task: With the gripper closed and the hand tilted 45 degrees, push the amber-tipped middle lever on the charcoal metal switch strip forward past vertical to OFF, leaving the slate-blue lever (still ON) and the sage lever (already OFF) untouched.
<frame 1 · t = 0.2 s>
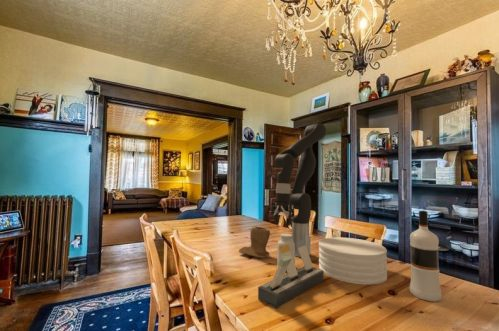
hand: (282, 224, 120), 18 cm above the table, tool pointing down, fingers open, 8 cm apart
switch strip: (293, 289, 87), on the table
lever sage: (280, 272, 79), point 9 cm above the table, hinge at 25.0°
lever slate: (304, 255, 97), point 9 cm above the table, hinge at -25.0°
pill bottle: (286, 268, 108), on the table
vodka: (425, 296, 84), on the table
lever amber: (288, 261, 90), point 9 cm above the table, hinge at -25.0°
plate stack: (351, 271, 106), on the table
brown boot: (256, 255, 126), on the table
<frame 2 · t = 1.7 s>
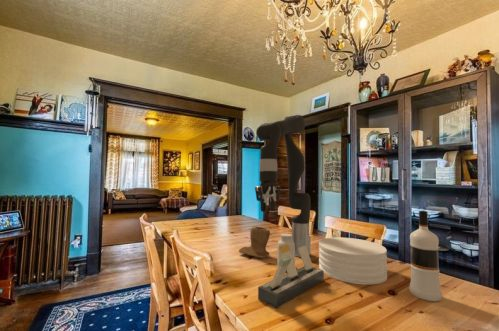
hand: (268, 210, 98), 27 cm above the table, tool pointing down, fingers open, 5 cm apart
nothing on the table moved.
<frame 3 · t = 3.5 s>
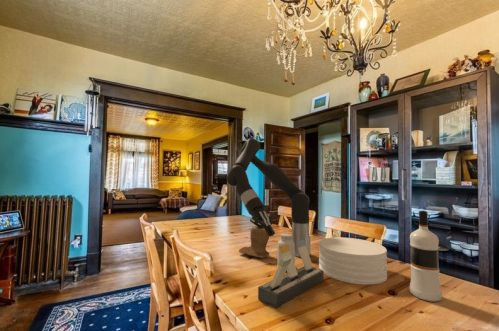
hand: (272, 235, 96), 18 cm above the table, tool tilted 45°, fingers closed
nothing on the table moved.
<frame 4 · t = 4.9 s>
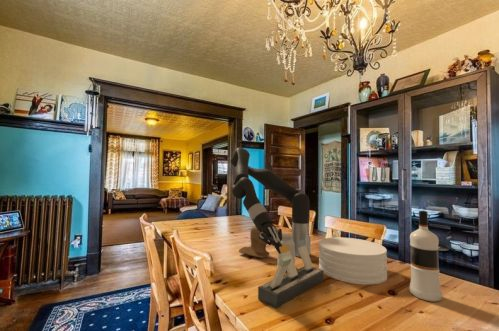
hand: (282, 252, 92), 12 cm above the table, tool tilted 45°, fingers closed
lever amber: (288, 261, 90), point 9 cm above the table, hinge at -25.0°, touching gripper
everything else where it was.
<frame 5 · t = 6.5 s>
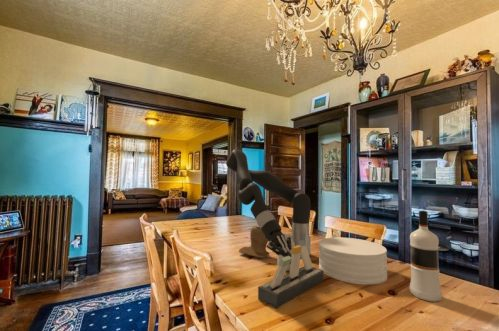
hand: (291, 262, 88), 10 cm above the table, tool tilted 45°, fingers closed
lever amber: (295, 262, 87), point 10 cm above the table, hinge at 6.8°, touching gripper
everything else where it was.
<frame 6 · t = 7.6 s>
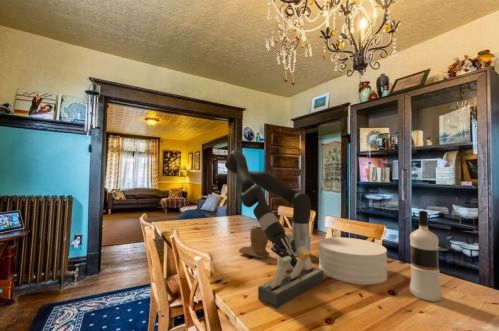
hand: (296, 265, 86), 9 cm above the table, tool tilted 45°, fingers closed
lever amber: (299, 265, 86), point 9 cm above the table, hinge at 28.1°, touching gripper
everything else where it was.
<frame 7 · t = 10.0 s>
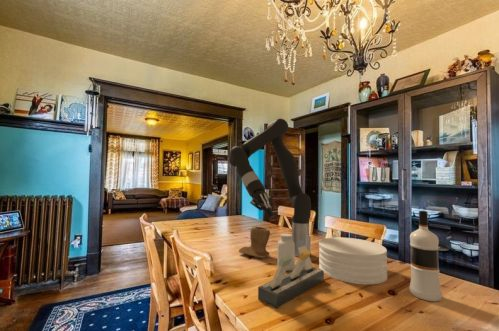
hand: (271, 217, 99), 25 cm above the table, tool tilted 40°, fingers closed
lever amber: (299, 265, 86), point 9 cm above the table, hinge at 28.2°
everything else where it was.
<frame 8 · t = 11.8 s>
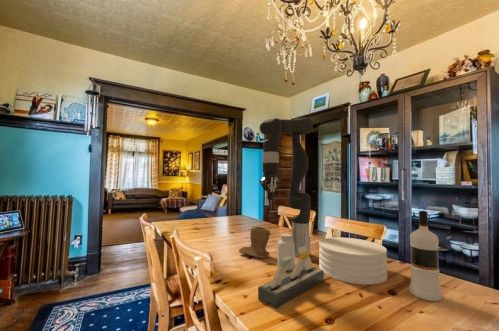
hand: (270, 200, 107), 31 cm above the table, tool pointing down, fingers closed
nothing on the table moved.
at the end: lever amber at +28° (first picture: -25°); lever slate at -25° (first picture: -25°); lever sage at +25° (first picture: +25°) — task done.
